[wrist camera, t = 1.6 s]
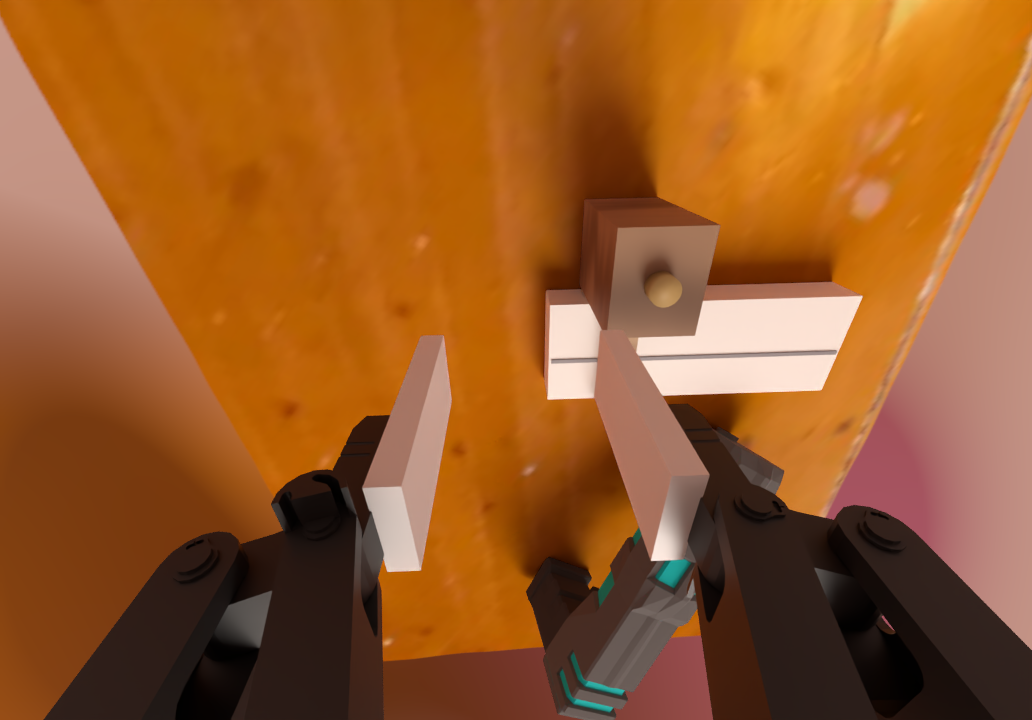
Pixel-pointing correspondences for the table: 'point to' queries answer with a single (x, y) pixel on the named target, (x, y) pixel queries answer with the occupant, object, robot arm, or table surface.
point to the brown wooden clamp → (645, 265)
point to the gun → (619, 613)
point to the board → (713, 341)
